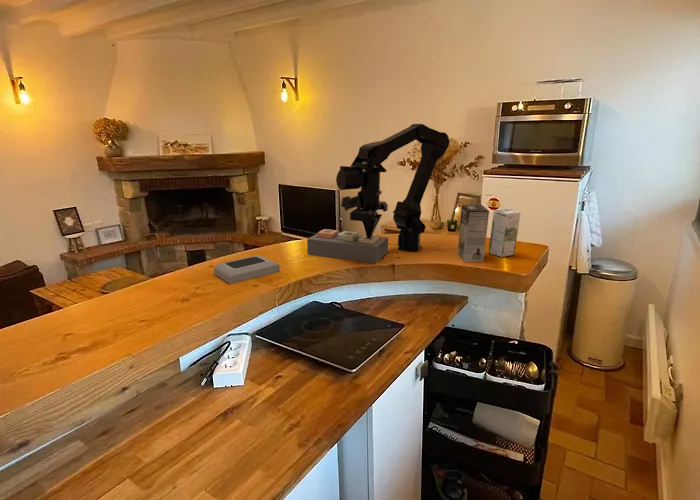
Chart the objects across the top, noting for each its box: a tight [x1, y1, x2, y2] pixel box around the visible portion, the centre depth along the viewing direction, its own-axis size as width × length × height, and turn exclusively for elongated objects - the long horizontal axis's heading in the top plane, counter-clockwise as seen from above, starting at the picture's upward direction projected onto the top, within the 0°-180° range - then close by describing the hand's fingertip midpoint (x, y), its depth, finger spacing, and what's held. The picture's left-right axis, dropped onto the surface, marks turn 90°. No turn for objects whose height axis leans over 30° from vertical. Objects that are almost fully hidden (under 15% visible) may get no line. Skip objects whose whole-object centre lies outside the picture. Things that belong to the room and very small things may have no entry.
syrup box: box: [488, 208, 521, 258], centre depth 133 cm, size 6×6×14 cm
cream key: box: [359, 235, 380, 244], centre depth 131 cm, size 5×5×3 cm
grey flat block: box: [213, 254, 281, 285], centre depth 116 cm, size 10×4×15 cm
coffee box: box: [457, 204, 490, 263], centre depth 129 cm, size 9×6×16 cm
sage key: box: [338, 230, 359, 242], centre depth 133 cm, size 5×5×3 cm
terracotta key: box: [317, 228, 339, 239], centre depth 136 cm, size 5×5×3 cm
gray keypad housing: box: [306, 231, 389, 264], centre depth 134 cm, size 23×12×5 cm, turn 69°
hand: (369, 237), depth 131 cm, fingers closed, pressing on cream key
